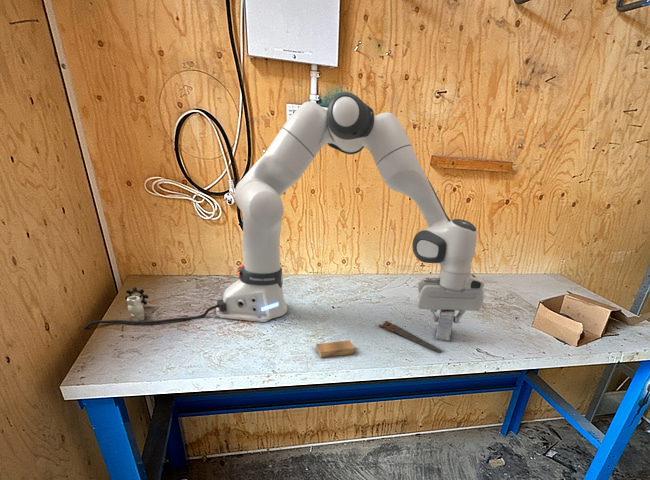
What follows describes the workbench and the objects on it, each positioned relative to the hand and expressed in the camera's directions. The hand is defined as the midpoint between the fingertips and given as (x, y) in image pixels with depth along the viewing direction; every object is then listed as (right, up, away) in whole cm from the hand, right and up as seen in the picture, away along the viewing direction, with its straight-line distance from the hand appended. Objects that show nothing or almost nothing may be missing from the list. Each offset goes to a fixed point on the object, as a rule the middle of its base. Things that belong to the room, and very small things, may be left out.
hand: (445, 322), depth 136 cm
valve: (-96, +2, -2) cm, 96 cm away
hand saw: (-12, -5, -1) cm, 13 cm away
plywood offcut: (-34, -11, -12) cm, 37 cm away
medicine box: (0, -4, +2) cm, 5 cm away
